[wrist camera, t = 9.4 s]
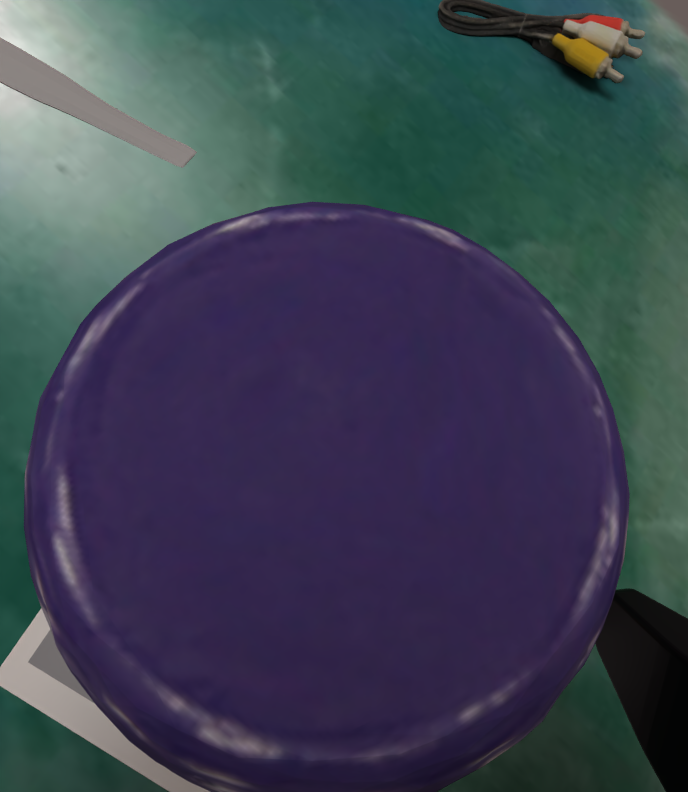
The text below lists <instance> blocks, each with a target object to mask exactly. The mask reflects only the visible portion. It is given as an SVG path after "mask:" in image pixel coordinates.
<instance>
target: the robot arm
mask: <svg viewBox="0 0 688 792" xmlns="http://www.w3.org/2000/svg"><path fill="white" fill-rule="evenodd" d="M596 646H597V650H598V652H599V655H600V657H601V659H602V661H603V663H604V666H605V668H606V670H607V672H608V675H609V677H610V679H611V681H612V683H613V686H614V688H615V690H616V692H617V694H618V697H619V699H620V701H621V703H622V705H623V708H624V710H625V712H626V714H627V717H628V719H629V721H630V723H631V725H632V728H633V730H634V732H635V734H636V736H637V738H638V740H639V743H640V745H641V747H642V749H643V751H644V753H645V755H646V757H647V758H648V760H649V762H650V764H651V766H652V768H653V769H654V771H655V773H656V775H657V777H658V778H659V780H660V782H661V784H662V785H663V787H664V789H665V791H666V792H688V619H687V618H686V617H684V616H682V615H680V614H678V613H677V612H675V611H673V610H671V609H669V608H668V607H666V606H664V605H662V604H660V603H658V602H657V601H655V600H653V599H651V598H649V597H648V596H646V595H644V594H642V593H640V592H639V591H636V590H634V589H619V590H615V594H614V597H613V601H612V604H611V607H610V609H609V612H608V615H607V617H606V620H605V623H604V625H603V628H602V631H601V633H600V635H599V637H598V639H597V641H596Z"/></svg>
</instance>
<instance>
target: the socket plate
mask: <svg viewBox="0 0 688 792" xmlns="http://www.w3.org/2000/svg"><path fill="white" fill-rule="evenodd" d="M0 686H1V687H3V688H4V689H6V690H8V691H9V692H11V693H12V694H14V695H16V696H17V697H19V698H20V699H22V700H24V701H25V702H27V703H28V704H30V705H32V706H33V707H35V708H36V709H38V710H40V711H41V712H43V713H44V714H46V715H48V716H49V717H51V718H52V719H54V720H56V721H57V722H59V723H60V724H62V725H64V726H65V727H67V728H68V729H70V730H72V731H73V732H75V733H76V734H78V735H80V736H81V737H83V738H84V739H86V740H88V741H89V742H91V743H92V744H94V745H96V746H97V747H99V748H100V749H102V750H104V751H105V752H107V753H108V754H110V755H112V756H113V757H115V758H116V759H118V760H120V761H121V762H123V763H124V764H126V765H128V766H129V767H131V768H132V769H134V770H136V771H137V772H139V773H140V774H142V775H144V776H145V777H147V778H148V779H150V780H152V781H153V782H155V783H156V784H158V785H160V786H161V787H163V788H164V789H166V790H168V791H169V792H210V791H208V790H206V789H204V788H201V787H199V786H197V785H195V784H193V783H190V782H188V781H187V780H185V779H183V778H182V777H180V776H178V775H176V774H175V773H173V772H171V771H170V770H169V769H167V768H166V767H164V766H162V765H161V764H159V763H157V762H155V761H154V760H153V759H152V758H150V757H149V756H148V755H146V754H145V753H144V752H142V751H141V750H140V749H139V748H137V747H136V746H135V745H133V744H132V743H131V742H130V741H129V740H128V739H127V738H126V737H125V736H124V735H123V734H122V733H121V732H120V731H119V730H118V729H117V728H116V726H115V725H114V724H113V723H112V722H111V721H110V720H109V719H108V718H107V717H106V716H105V715H104V713H103V712H102V711H101V710H100V709H99V708H98V707H97V706H96V704H95V703H94V702H93V700H92V699H91V698H90V696H89V695H88V694H87V692H86V691H85V690H84V689H83V687H82V686H81V685H80V683H79V682H78V681H77V679H76V678H75V677H74V675H73V674H72V673H71V672H70V670H69V668H68V666H67V664H66V663H65V661H64V659H63V657H62V656H61V654H60V652H59V650H58V649H57V647H56V644H55V641H54V637H53V634H52V632H51V629H50V627H49V625H48V622H47V620H46V617H45V615H44V613H43V610H42V608H41V610H40V611H39V613H38V614H37V615H36V617H35V618H34V620H33V621H32V623H31V624H30V625H29V627H28V628H27V630H26V631H25V633H24V634H23V635H22V637H21V638H20V640H19V641H18V643H17V644H16V645H15V647H14V648H13V650H12V651H11V653H10V654H9V655H8V657H7V658H6V660H5V661H4V662H3V664H2V665H1V667H0Z"/></svg>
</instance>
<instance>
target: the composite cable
mask: <svg viewBox="0 0 688 792" xmlns="http://www.w3.org/2000/svg"><path fill="white" fill-rule="evenodd" d="M456 11H462V12H470V13H473V14H476V15H479V16H483V17H485V18H488V19H481V18H472V17H468V16H461V15H458V14H456V13H454V12H456ZM438 15H439V16H438V18H439V22H440V23H441V25H442V26H443V27H444V28H446V29H447V30H449V31H452V32H454V33H458V34H463V35H474V36H490V35H509V34H510V35H514V36H517V37H520V38H523V39H525V40H527V41H529V42H531V43H532V47H533V48H534V49H537V50H538V51H540V52H541V53H542V54H544V55H545V56H547V57H549V58H551V59H554V60H556V61H558V62H560V63H562V64H564V65H566V66H568V67H570V68H572V69H574V70H577V71H578V72H580V73H585V74H586V75H588V76H589V77H591V78H595V77H596V78H598V79H600V78H602V77H603V76H604V77H606V78H609V79H611V80H612V81H613V82H614V83H620V82H621V81H622V80H623V78H624V76H623V75H622V74H620V73H619V72H617V71H615V70H614V69H612V68H613V65H611V64H612V59H610V58H613V57H615V58H619V57H621V56H622V55H623V54H625V55H627V56H630V57H632V58H634V59H637V58H639V57H640V56H641V55H642V50H640V49H638V48H636V47H632V46H630V45H629V44H628V37H629V38H633V39H641V38H643V37H644V35H645V32H644V31H642V30H636V29H631V28H630V27H629V22H628V21H624V20H623V19H621V18H614V17H606V16H603V15H599V14H592V13H582V14H574V15H564V16H541V15H532V14H525V13H522V12H518V11H515V10H512V9H508V8H505V7H501V6H499V5H495V4H491V3H488V2H485V1H482V0H443V1H442V2H441V3H440V5H439V11H438Z"/></svg>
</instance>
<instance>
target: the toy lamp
mask: <svg viewBox="0 0 688 792" xmlns="http://www.w3.org/2000/svg"><path fill="white" fill-rule="evenodd" d="M628 516H629V487H628V480H627V473H626V465H625V458H624V451H623V447H622V443H621V439H620V435H619V431H618V427H617V423H616V419H615V415H614V412H613V408H612V406H611V403H610V401H609V398H608V396H607V393H606V390H605V388H604V385H603V383H602V380H601V378H600V375H599V373H598V371H597V370H596V368H595V366H594V364H593V362H592V361H591V359H590V357H589V355H588V354H587V352H586V350H585V348H584V347H583V345H582V343H581V341H580V339H579V338H578V336H577V335H576V334H575V333H574V331H573V330H572V329H571V328H570V326H569V325H568V324H567V323H566V321H565V320H564V319H563V318H562V316H561V315H560V314H559V313H558V311H557V310H556V309H555V308H554V306H553V305H552V304H551V303H550V301H549V300H548V299H546V298H545V297H544V296H543V295H542V294H541V293H540V292H539V291H538V290H537V289H536V288H535V287H533V286H532V285H531V284H530V283H529V282H528V281H527V280H526V279H525V278H524V277H523V276H522V275H520V274H519V273H518V272H517V271H515V270H514V269H513V268H511V267H510V266H509V265H507V264H506V263H505V262H503V261H502V260H501V259H499V258H498V257H497V256H495V255H494V254H493V253H491V252H490V251H488V250H487V249H486V248H484V247H482V246H481V245H479V244H477V243H475V242H474V241H472V240H470V239H468V238H467V237H465V236H463V235H461V234H460V233H458V232H456V231H454V230H452V229H450V228H447V227H444V226H442V225H439V224H436V223H434V222H431V221H429V220H425V219H421V218H417V217H412V216H408V215H404V214H400V213H396V212H392V211H388V210H384V209H379V208H375V207H371V206H366V205H357V204H340V203H323V202H308V203H300V204H292V205H284V206H276V207H268V208H265V209H262V210H259V211H255V212H252V213H249V214H245V215H242V216H238V217H235V218H231V219H228V220H225V221H221V222H218V223H214V224H212V225H209V226H207V227H205V228H203V229H201V230H199V231H197V232H194V233H192V234H190V235H188V236H186V237H184V238H182V239H179V240H177V241H175V242H173V243H171V244H169V245H167V246H166V247H165V248H163V249H162V250H161V251H159V252H158V253H157V254H155V255H154V256H153V257H151V258H150V259H149V260H147V261H146V262H145V263H143V264H142V265H141V266H140V267H138V268H137V269H136V270H134V271H133V272H132V273H130V274H129V275H128V276H126V277H125V278H124V279H123V280H122V281H121V282H120V283H119V284H118V285H117V286H116V287H115V288H114V289H113V290H112V291H110V292H109V293H108V294H107V295H106V296H105V297H104V298H103V299H102V300H101V301H100V302H99V303H98V304H97V305H96V306H95V307H94V308H93V310H92V311H91V312H90V313H89V314H88V316H87V317H86V318H85V319H84V320H83V322H82V323H81V324H80V326H79V328H78V329H77V331H76V333H75V335H74V337H73V338H72V340H71V342H70V344H69V346H68V348H67V349H66V351H65V353H64V355H63V357H62V358H61V360H60V362H59V364H58V366H57V368H56V369H55V371H54V373H53V375H52V377H51V379H50V381H49V382H48V384H47V386H46V388H45V390H44V392H43V394H42V395H41V397H40V401H39V405H38V409H37V413H36V418H35V425H34V431H33V436H32V441H31V446H30V451H29V456H28V461H27V466H26V471H25V499H24V531H25V538H26V544H27V551H28V558H29V565H30V572H31V577H32V580H33V583H34V586H35V590H36V593H37V596H38V599H39V602H40V605H41V608H42V610H43V613H44V615H45V617H46V620H47V622H48V625H49V627H50V629H51V632H52V634H53V637H54V641H55V644H56V647H57V649H58V650H59V652H60V654H61V656H62V657H63V659H64V661H65V663H66V664H67V666H68V668H69V670H70V672H71V673H72V674H73V675H74V677H75V678H76V679H77V681H78V682H79V683H80V685H81V686H82V687H83V689H84V690H85V691H86V692H87V694H88V695H89V696H90V698H91V699H92V700H93V702H94V703H95V704H96V706H97V707H98V708H99V709H100V710H101V711H102V712H103V713H104V715H105V716H106V717H107V718H108V719H109V720H110V721H111V722H112V723H113V724H114V725H115V726H116V728H117V729H118V730H119V731H120V732H121V733H122V734H123V735H124V736H125V737H126V738H127V739H128V740H129V741H130V742H131V743H132V744H133V745H135V746H136V747H137V748H139V749H140V750H141V751H142V752H144V753H145V754H146V755H148V756H149V757H150V758H152V759H153V760H154V761H155V762H157V763H159V764H161V765H162V766H164V767H166V768H167V769H169V770H170V771H171V772H173V773H175V774H176V775H178V776H180V777H182V778H183V779H185V780H187V781H188V782H190V783H193V784H195V785H197V786H199V787H201V788H204V789H206V790H208V791H210V792H436V791H438V790H440V789H442V788H444V787H446V786H448V785H450V784H451V783H453V782H455V781H457V780H459V779H461V778H463V777H464V776H466V775H468V774H470V773H472V772H474V771H476V770H477V769H479V768H481V767H483V766H485V765H486V764H487V763H489V762H490V761H492V760H493V759H495V758H496V757H498V756H499V755H501V754H502V753H503V752H505V751H506V750H508V749H509V748H511V747H512V746H514V745H515V744H517V743H518V742H519V741H521V740H522V739H523V738H524V737H525V736H526V735H528V734H529V733H530V732H531V731H532V730H533V729H534V728H535V727H536V726H538V725H539V724H540V723H541V722H542V721H543V720H544V718H545V717H546V715H547V714H548V712H549V711H550V709H551V708H552V706H553V704H554V703H555V701H556V700H557V698H558V697H559V695H560V694H561V692H562V691H563V690H564V689H565V688H566V686H567V685H568V684H569V683H570V681H571V680H572V679H573V678H574V677H575V675H576V674H577V673H578V672H579V670H580V669H581V668H582V667H583V666H584V664H585V662H586V660H587V658H588V656H589V654H590V652H591V650H592V648H593V647H594V645H595V643H596V641H597V639H598V637H599V635H600V633H601V631H602V628H603V625H604V623H605V620H606V617H607V615H608V612H609V609H610V607H611V604H612V601H613V597H614V594H615V590H616V587H617V583H618V579H619V576H620V572H621V568H622V565H623V561H624V554H625V545H626V536H627V527H628Z"/></svg>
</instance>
